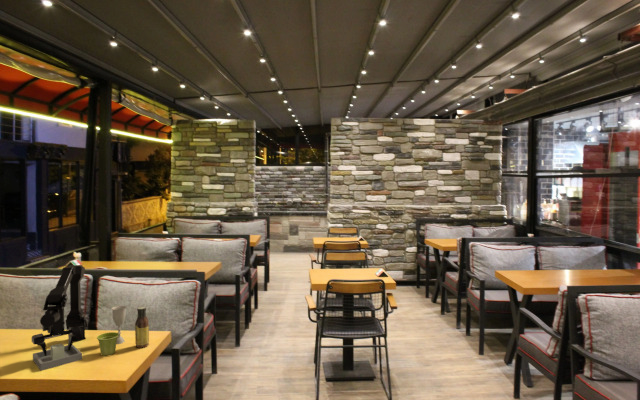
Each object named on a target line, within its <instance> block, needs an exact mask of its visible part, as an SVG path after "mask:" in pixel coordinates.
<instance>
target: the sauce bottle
mask: <svg viewBox="0 0 640 400" xmlns="http://www.w3.org/2000/svg"><path fill="white" fill-rule="evenodd" d="M136 311H137V318H136V321H135V323H134V331H135V332H134V336H135V337H134V338H135V341H134V342H135V346H136V348H137V347H138V348H139V349H143V348H142V347H144V348H146V347H148V346H149V345H150V344H149V343H150V330H149V329H150V325H149V318H148V317H147V313H146V311H147V307H146V306H139V307H137V308H136Z"/></svg>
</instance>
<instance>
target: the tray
mask: <svg viewBox="0 0 640 400" xmlns="http://www.w3.org/2000/svg"><path fill="white" fill-rule="evenodd" d="M46 352H47V355H46V356H45V355H44V353H43V350H42V351H38V352H33V353H32V361H33V362H34V364H35V365H36V366H37V367H38V369H39V370H40V371H46V370H49V369H53V368H57V367H60V366H63V365H67V364H72V363H74V362H77V361H82V360H83V353H82V352H81V351H80V349H78V348H77V347H76V346H75V345H74V344H73V343H72V346H71V348H70V350H68V344H67V345H64V357H63V358H59V359H55V360H51V355H50V349H46Z"/></svg>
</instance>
